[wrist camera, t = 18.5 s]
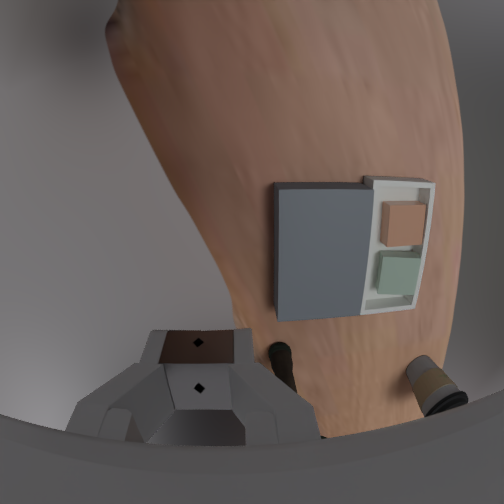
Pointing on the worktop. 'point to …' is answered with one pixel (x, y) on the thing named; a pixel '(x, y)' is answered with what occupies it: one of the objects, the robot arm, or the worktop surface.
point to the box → (397, 192)
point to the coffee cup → (433, 387)
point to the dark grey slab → (320, 248)
